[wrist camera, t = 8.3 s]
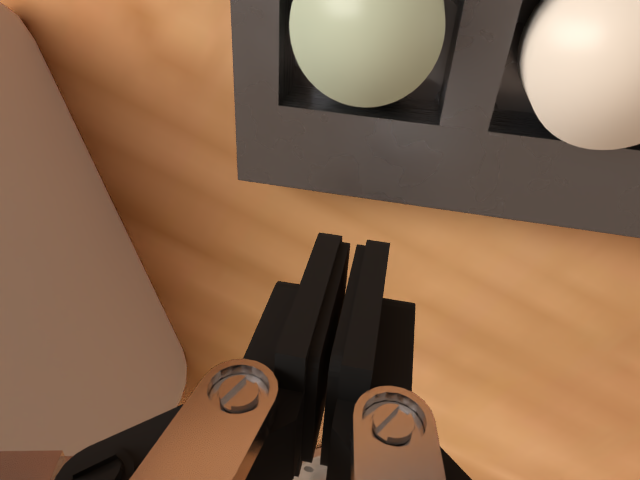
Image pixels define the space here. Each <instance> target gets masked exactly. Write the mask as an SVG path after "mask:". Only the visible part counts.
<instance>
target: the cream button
mask: <svg viewBox="0 0 640 480" xmlns="http://www.w3.org/2000/svg"><path fill="white" fill-rule="evenodd" d="M517 64H518V72H519V77H520V80H521V83H522V85H523V88H524V90H525V92H526V94H527V96H528V99H529V101H530V103H531V105H532V107H533V110H534V112H535V113H536V115H537V117H538V119H539V120H540V122H541V123H542V124H543V125H544V127H545V128H546V129H547V130H548V131H549V132H551V133H552V134H553V135H554V136H556V137H557V138H559V139H560V140H562V141H564V142H566V143H568V144H571V145H574V146H577V147H580V148H586V149H592V150H614V149H621V148H626V147H630V146H634V145H638V144H640V0H540V2H539V3H538V4H537V5H536V7H535V8H534V10H533V11H532V13H531V14H530V16H529V18H528V20H527V22H526V24H525V26H524V28H523V31H522V34H521V37H520V41H519V46H518V54H517Z"/></svg>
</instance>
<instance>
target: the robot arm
mask: <svg viewBox="0 0 640 480" xmlns="http://www.w3.org/2000/svg"><path fill="white" fill-rule="evenodd" d="M389 247H390V243H386V242H379V241H372V240H367V242H366V246H364V245H358V244H357V247H356V251H355V255H354V259H353V264H352V268H351V272H350V276H349V281H348V285H347V289H346V280H347V270H348V261H349V251H350V243H344V242H342V236H338V235H332V234H325V233H319V234H318V236H317V239H316V242H315V245H314V247H313V250H312V253H311V255H310V258H309V261H308V264H307V266H306V269H305V272H304V274H303V277H302V280H301V283H300V285H299V284H293V283H287V282H281V281H278V282H277V283H276V285H275V287H274V289H273V291H272V294H271V296H270V298H269V301H268V303H267V305H266V307H265V310H264V312H263V314H262V317H261V319H260V321H259V324H258V326H257V328H256V330H255V333H254V335H253V337H252V340H251V342H250V344H249V346H248V349H247V351H246V353H245V356H244V358H243V359H233V360H229V361H226V362H223V363H220V364H219V365H217V366H215V367H213V368H212V369H211V370H210V371H209V372H208V373H207V374H206V375H205V376H204V377H203V378H202V380H201V381H200V382H199V384H198V385H197V387H196V388H195V389H194V391H193V392H192V393H191V395H190V396H189V398H188V399H187V400H186V402H185V403H184V404H182V405H180V406H178V407H176V408H173V409H171V410H169V411H167V412H164V413H162V414H160V415H158V416H155V417H153V418H151V419H149V420H146V421H144V422H142V423H140V424H137V425H135V426H133V427H131V428H128V429H126V430H124V431H122V432H120V433H117V434H115V435H113V436H111V437H108V438H106V439H104V440H102V441H99V442H97V443H95V444H93V445H90V446H88V447H87V448H85V449H83V450H81V451H80V452H78V453H76V454H75V455H74V456H64V453H63V450H51V451H0V480H472V479H471V478H470V477H469V476H468V475H467V474H466V473H465V472H464V471H463V470H462V469H461V468H460V467H459V466H458V465H457V464H456V463H455V462H454V461H453V460H452V458H451V457H450V456H449V455H448V454H447V453H446V452H445V451H444V450H443V449H442V448H441V447H440V444H439V438H438V433H437V428H436V422H435V419H434V416H433V413H432V411H431V409H430V408H429V406H428V405H427V404H426V402H425V401H424V400H423V399H421V398H420V397H419V396H417V395H416V394H415V393H413V392H412V370H413V348H414V326H415V303H410V302H404V301H398V300H392V299H385V298H383V292H384V284H385V277H386V269H387V262H388V254H389ZM345 289H346V293H345ZM324 408H325V413H324V424H323V435H322V445H321V448H317V449H315V448H316V444H317V439H318V435H319V430H320V426H321V421H322V417H323V412H324Z"/></svg>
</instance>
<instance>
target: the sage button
mask: <svg viewBox="0 0 640 480" xmlns="http://www.w3.org/2000/svg"><path fill="white" fill-rule="evenodd" d="M289 30H290V39H291V45H292V49H293V52H294V55H295V58H296V60H297V62H298V65H299V66H300V68H301V70H302V72H303V73H304V74H305V76H306V77H307V79H308V80H309V81H310V82H311V83H312V84H313V85H314V86H315V87H316V88H317V89H318V90H319V91H321V92H322V93H323V94H325V95H326V96H328V97H329V98H331V99H333V100H335V101H337V102H340V103H343V104H346V105H349V106H355V107H366V108H367V107H378V106H383V105H387V104H390V103H393V102H395V101H397V100H399V99H402V98H404V97H405V96H407V95H408V94H410V93H411V92H412V91H414V90H415V89H416V88H417V87H418V86H419V85H420V84H421V83H422V82H423V81H424V80H425V79H426V78H427V76H428V75H429V73H430V72H431V71H432V69H433V67H434V65H435V64H436V62H437V60H438V57H439V55H440V52H441V49H442V45H443V41H444V35H445V7H444V0H293V2H292V6H291V11H290V20H289Z"/></svg>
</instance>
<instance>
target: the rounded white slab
mask: <svg viewBox="0 0 640 480" xmlns="http://www.w3.org/2000/svg"><path fill="white" fill-rule="evenodd" d="M186 376H187V363H186V359H185V355H184V351H183V349H182V347H181V344H180V342H179V340H178V338H177V336H176V334H175V332H174V330H173V328H172V326H171V324H170V321H169V319H168V317H167V315H166V313H165V311H164V309H163V307H162V305H161V303H160V301H159V298H158V296H157V294H156V292H155V290H154V288H153V286H152V284H151V282H150V280H149V277H148V275H147V273H146V271H145V269H144V267H143V265H142V263H141V261H140V259H139V257H138V254H137V252H136V250H135V248H134V246H133V244H132V242H131V240H130V238H129V236H128V234H127V231H126V229H125V227H124V225H123V223H122V221H121V219H120V217H119V215H118V213H117V211H116V208H115V206H114V204H113V202H112V200H111V198H110V196H109V194H108V192H107V190H106V188H105V185H104V183H103V181H102V179H101V177H100V175H99V173H98V171H97V169H96V167H95V165H94V162H93V160H92V158H91V156H90V154H89V152H88V150H87V148H86V146H85V144H84V142H83V139H82V137H81V135H80V133H79V131H78V129H77V127H76V125H75V123H74V121H73V119H72V116H71V114H70V112H69V110H68V108H67V106H66V104H65V102H64V100H63V98H62V96H61V93H60V91H59V89H58V87H57V85H56V83H55V81H54V79H53V77H52V75H51V72H50V70H49V68H48V66H47V64H46V62H45V60H44V58H43V56H42V54H41V52H40V49H39V47H38V45H37V43H36V41H35V39H34V38H33V36H32V35H31V33H30V32H29V31H28V29H27V28H26V26H25V25H24V23H23V22H22V20H21V19H20V17H19V16H18V15H17V14H16V13H14V12H13V11H11V10H10V9H9V8H7V7H6V6H5V5H3V4H2V3H1V2H0V451H51V450H63V453H64V456H74V455H75V454H76V453H78V452H80V451H81V450H83V449H85V448H87V447H88V446H90V445H93V444H95V443H97V442H99V441H102V440H104V439H106V438H108V437H111V436H113V435H115V434H117V433H120V432H122V431H124V430H126V429H128V428H131V427H133V426H135V425H137V424H140V423H142V422H144V421H146V420H149V419H151V418H153V417H155V416H158V415H160V414H162V413H164V412H167V411H169V410H171V409H173V408H176V407H177V406H178V404H179V402H180V400H181V397H182V394H183V391H184V388H185V385H186Z"/></svg>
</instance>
